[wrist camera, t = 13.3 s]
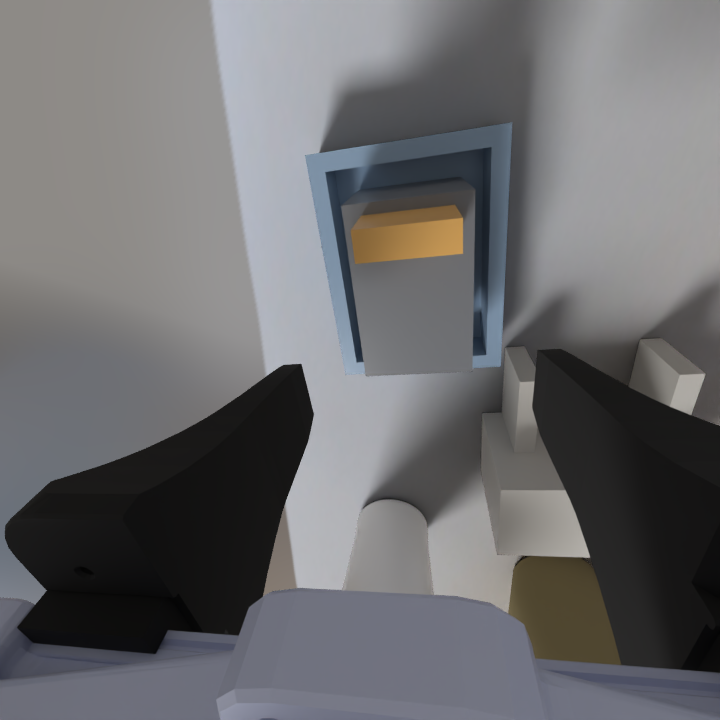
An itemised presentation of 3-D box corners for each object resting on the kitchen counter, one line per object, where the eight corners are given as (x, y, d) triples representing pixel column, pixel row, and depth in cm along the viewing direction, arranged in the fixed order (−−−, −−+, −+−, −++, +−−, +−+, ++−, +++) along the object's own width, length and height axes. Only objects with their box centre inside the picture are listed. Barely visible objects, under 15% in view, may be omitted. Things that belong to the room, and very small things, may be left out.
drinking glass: (377, 474, 27) (341, 775, 14) (455, 514, 28) (488, 828, 15) (334, 523, 31) (274, 802, 18) (405, 557, 32) (398, 844, 19)
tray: (499, 124, 16) (512, 122, 14) (492, 343, 21) (500, 366, 19) (318, 153, 17) (305, 155, 15) (352, 352, 22) (345, 374, 20)
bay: (686, 336, 19) (784, 407, 14) (645, 471, 24) (707, 561, 19) (483, 348, 21) (505, 415, 16) (480, 471, 26) (497, 554, 21)
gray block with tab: (460, 321, 20) (481, 407, 14) (376, 327, 21) (358, 411, 14) (460, 176, 17) (487, 199, 10) (359, 189, 18) (326, 218, 11)
